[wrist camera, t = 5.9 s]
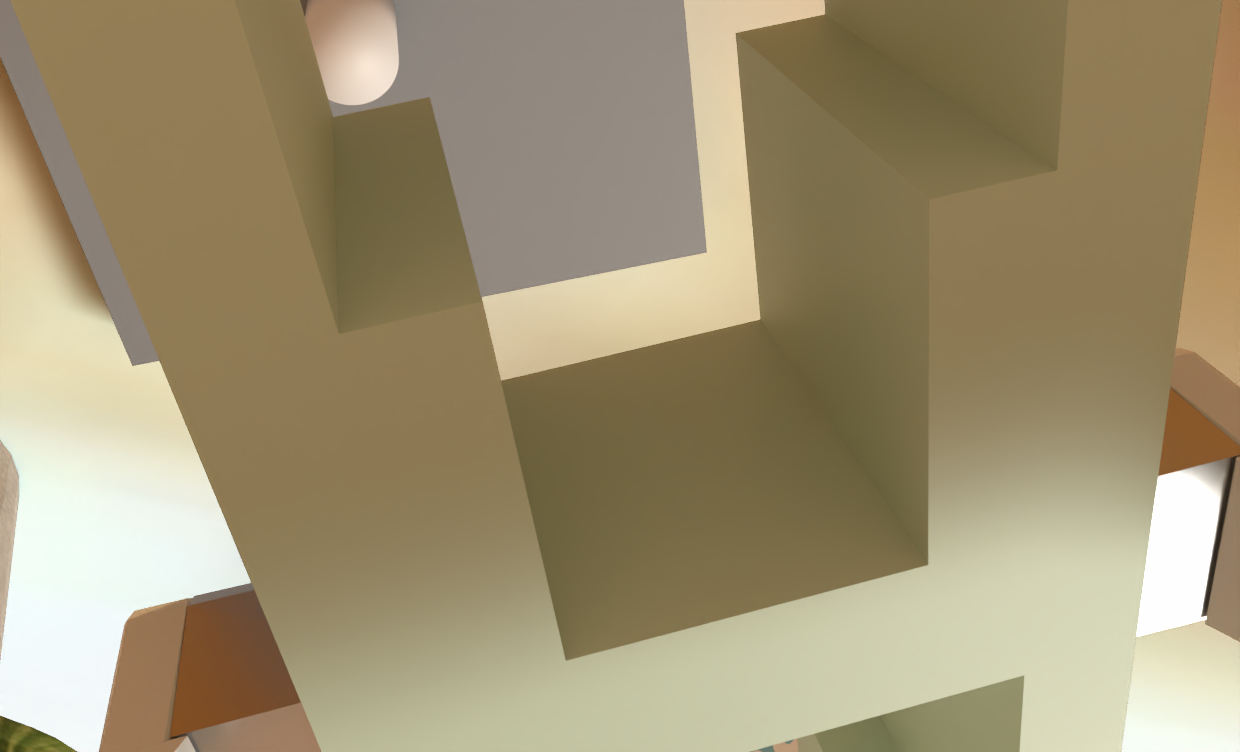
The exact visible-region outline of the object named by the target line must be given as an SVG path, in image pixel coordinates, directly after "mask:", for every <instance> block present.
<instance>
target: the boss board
mask: <svg viewBox="0 0 1240 752" xmlns="http://www.w3.org/2000/svg"><path fill="white" fill-rule="evenodd" d="M300 2H301V5H302V9H303V12H304V16H305V20H306V23H307V27H308V30H309V34H310V37H311V41H312V44H313V48H314V51H315V55H316V58H317V62H318V65H319V69H320V73H321V76H322V80H323V83H324V87H325V90H326V94H327V97H328V101H329V104H330V108H331V111H332V115H333V117H335V116H340V115H345V114H350V113H355V112H359V111H364V110H369V109H374V108H379V107H383V106H388V105H393V104H398V103H403V102H407V101H412V100H417V99H422V98H427V97H430V100H431V104H432V108H433V112H434V116H435V120H436V123H437V127H438V131H439V135H440V139H441V143H442V147H443V151H444V154H445V158H446V162H447V166H448V170H449V174H450V178H451V182H452V185H453V189H454V193H455V197H456V201H457V205H458V209H459V213H460V217H461V220H462V224H463V228H464V232H465V236H466V240H467V244H468V248H469V251H470V255H471V259H472V263H473V267H474V271H475V275H476V279H477V282H478V286H479V290H480V294H481V297H483V296H488V295H493V294H498V293H503V292H509V291H514V290H519V289H524V288H529V287H534V286H539V285H544V284H549V283H554V282H559V281H564V280H569V279H574V278H579V277H584V276H589V275H595V274H600V273H605V272H610V271H615V270H620V269H625V268H630V267H635V266H640V265H645V264H650V263H655V262H660V261H665V260H670V259H675V258H680V257H686V256H691V255H696V254H701V253H706V252H707V250H706V239H705V228H704V217H703V206H702V195H701V185H700V174H699V163H698V152H697V141H696V130H695V119H694V108H693V97H692V87H691V76H690V65H689V54H688V43H687V32H686V21H685V10H684V0H300ZM0 58H1V60H2V62H3V65H4V67H5V69H6V72H7V74H8V76H9V79H10V81H11V83H12V86H13V88H14V90H15V93H16V95H17V97H18V100H19V102H20V104H21V107H22V109H23V111H24V114H25V116H26V118H27V121H28V123H29V125H30V128H31V130H32V132H33V135H34V137H35V139H36V142H37V144H38V146H39V149H40V151H41V153H42V156H43V158H44V160H45V163H46V165H47V167H48V170H49V172H50V174H51V177H52V179H53V181H54V184H55V186H56V188H57V191H58V193H59V195H60V198H61V200H62V202H63V205H64V207H65V209H66V212H67V214H68V216H69V219H70V221H71V223H72V226H73V228H74V230H75V233H76V235H77V237H78V240H79V242H80V244H81V247H82V249H83V251H84V254H85V256H86V258H87V261H88V263H89V265H90V268H91V270H92V272H93V275H94V277H95V279H96V282H97V284H98V286H99V289H100V291H101V293H102V296H103V298H104V300H105V303H106V305H107V307H108V310H109V312H110V314H111V317H112V319H113V321H114V324H115V326H116V328H117V331H118V333H119V335H120V338H121V340H122V342H123V345H124V347H125V349H126V352H127V354H128V356H129V359H130V361H131V363H132V366H134V365H139V364H144V363H149V362H155V361H159V358H158V356H157V353H156V351H155V349H154V346H153V344H152V341H151V339H150V336H149V334H148V332H147V329H146V327H145V324H144V322H143V320H142V317H141V315H140V312H139V310H138V308H137V305H136V303H135V300H134V298H133V295H132V293H131V291H130V288H129V286H128V283H127V281H126V279H125V276H124V274H123V271H122V269H121V266H120V264H119V262H118V259H117V257H116V254H115V252H114V250H113V247H112V245H111V242H110V240H109V238H108V235H107V233H106V230H105V228H104V225H103V223H102V221H101V218H100V216H99V213H98V211H97V209H96V206H95V204H94V201H93V199H92V196H91V194H90V192H89V189H88V187H87V184H86V182H85V180H84V177H83V175H82V172H81V170H80V168H79V165H78V163H77V160H76V158H75V155H74V153H73V151H72V148H71V146H70V143H69V141H68V139H67V136H66V134H65V131H64V129H63V127H62V124H61V122H60V119H59V117H58V114H57V112H56V110H55V107H54V105H53V102H52V100H51V98H50V95H49V93H48V90H47V88H46V85H45V83H44V81H43V78H42V76H41V73H40V71H39V69H38V66H37V64H36V61H35V59H34V57H33V54H32V52H31V49H30V47H29V44H28V42H27V40H26V37H25V35H24V32H23V30H22V28H21V25H20V23H19V20H18V18H17V15H16V13H15V11H14V8H13V6H12V3H11V1H10V0H0Z"/></svg>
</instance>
